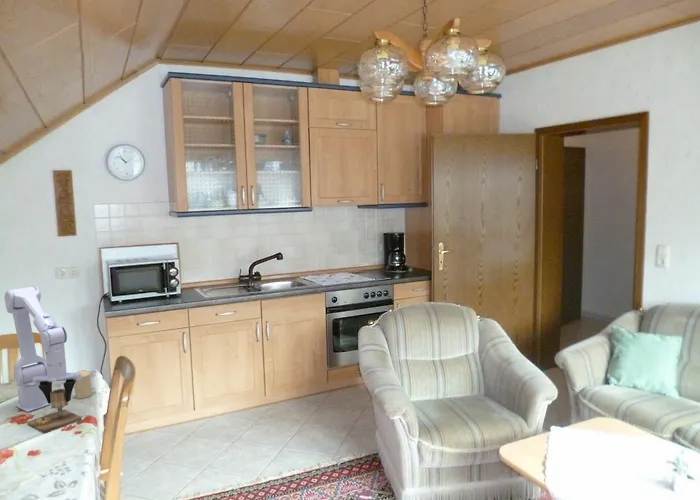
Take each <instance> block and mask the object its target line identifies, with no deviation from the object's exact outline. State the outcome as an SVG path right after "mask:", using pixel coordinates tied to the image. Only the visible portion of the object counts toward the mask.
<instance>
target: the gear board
mask: <svg viewBox="0 0 700 500" xmlns="http://www.w3.org/2000/svg"><path fill="white" fill-rule="evenodd" d="M82 418H83V417H82V416H80V415H78V414H75V413H73V412H72V411H69V410H67V409H63V408H62V407H61V408H58V409H57V411H55V412H53V413H50V414H46V415H44V416H43V415H42V416H41V417H38V418H35V419H32V420H29V421H27V422H26V423H27V426H29V427H31V428H32V429H35V430H37V431H38V432H40V433H42V434H44V433H45V434H46V433H50V432H52V431H51V430H53V431H56V430H58V429H60V428H63V427H66V426H69V425H71V424H74V423H77V422H79V421H82ZM55 429H56V430H55ZM49 431H50V432H49Z"/></svg>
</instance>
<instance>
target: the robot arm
mask: <svg viewBox="0 0 700 500" xmlns="http://www.w3.org/2000/svg"><path fill="white" fill-rule="evenodd" d="M41 294H42V293H41V291H40V289H39V287H38V286H37V285H33V286H28V287H22V288H14V289H7V290H5V293H4V303H5V304H4V305H5V308H6V312H7V314H12V318H13V322H14V327H15V328H14V329H15V331H16V333H15V334H16V338H17V343H18V349H19V353H20V354H19V355H20V358H19V359H18V360H17V362H16V363H15V364H14V365H13V379H14V382H15V383H16V385H18V387H17V397H18V403H17V404H16V405H15V407H16V408H19V409H21V410H22V411H24V412H26V413H29V412H31V411H35V410H38V409H41V408H44V407H47V406H51V399H50V392H52V391H53V387H52V386H53V382H64V383H62V385H63V389H65V393H66V402H68V403H69V402H70V401H71V400H72V394H73V389H74V388H75V382H76V380H80V379H81V373H77V372H67V364H66V363H67V362H66V350H65V348H66V347H65V343H67V340H68V333H67V330H66V328H65V327H64V326H63V325H60V324H57V322H56V321H55V319H54V317H53V316H52V314H50V313H49V312H45V310H44V308H43V306H42V303H41V298H42V297H41V296H42V295H41ZM30 315H31V316H32V318H33V320H32V321H33V323H32V324H33V325H34V327H35V328H36V330H37V331H38V333H39V335H40V342H41V344H42V350H43V352H45V356H44V357H43V356H40V355H38V353H37V350H36V349H37V348H36V343H35V338H34V334H33V333H34V332H33V329H32V324H31V318H30Z"/></svg>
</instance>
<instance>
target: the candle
mask: <svg viewBox="0 0 700 500" xmlns="http://www.w3.org/2000/svg"><path fill="white" fill-rule="evenodd" d="M76 373H81V379H80V380H76V382H75V384H74V394H75V398H76V399H78V400H79V399H80V400H82V399H86V398H89V397H91V396H92V380H91V379H92V378H91V373H90V372H89V371H88V370H86V369H82V370H77V371H76Z"/></svg>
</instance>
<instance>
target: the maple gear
mask: <svg viewBox="0 0 700 500" xmlns="http://www.w3.org/2000/svg"><path fill="white" fill-rule="evenodd" d="M50 399H51V404H50V409H56V410H58V408H61V407H62V409H63V408H65V407H66V406H68V405H69V402H66V393H65V388H59V389H54V390H52V392H50Z"/></svg>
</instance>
